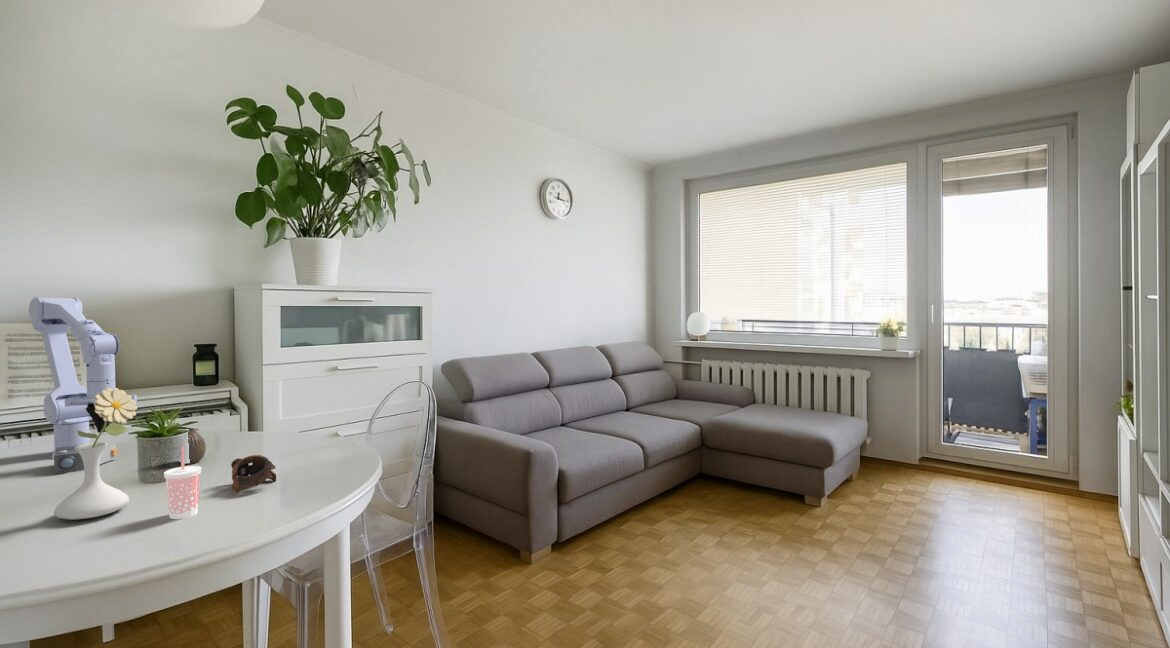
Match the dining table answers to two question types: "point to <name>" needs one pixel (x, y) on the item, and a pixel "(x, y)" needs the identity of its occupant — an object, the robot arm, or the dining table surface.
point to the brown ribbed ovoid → (195, 446)
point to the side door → (108, 453)
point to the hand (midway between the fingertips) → (102, 431)
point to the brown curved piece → (251, 472)
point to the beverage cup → (183, 489)
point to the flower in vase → (94, 492)
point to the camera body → (67, 459)
